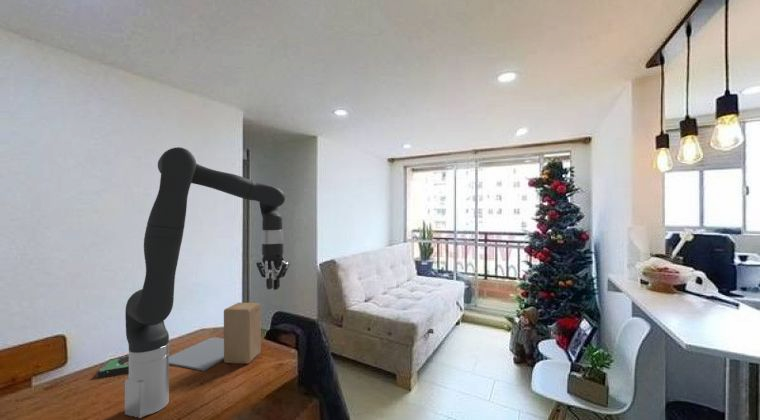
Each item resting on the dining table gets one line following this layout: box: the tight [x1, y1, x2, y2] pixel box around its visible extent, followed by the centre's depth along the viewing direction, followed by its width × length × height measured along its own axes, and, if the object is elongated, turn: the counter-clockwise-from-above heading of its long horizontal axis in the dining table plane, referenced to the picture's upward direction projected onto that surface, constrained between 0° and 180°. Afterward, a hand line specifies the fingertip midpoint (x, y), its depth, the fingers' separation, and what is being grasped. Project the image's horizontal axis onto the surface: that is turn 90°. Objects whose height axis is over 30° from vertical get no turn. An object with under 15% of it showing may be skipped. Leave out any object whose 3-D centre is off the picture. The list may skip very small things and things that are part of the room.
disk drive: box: [96, 356, 129, 379], centre depth 113 cm, size 10×3×15 cm
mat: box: [169, 336, 224, 372], centre depth 125 cm, size 24×22×1 cm
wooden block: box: [223, 302, 262, 365], centre depth 119 cm, size 10×10×20 cm
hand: (273, 288), depth 115 cm, fingers closed
